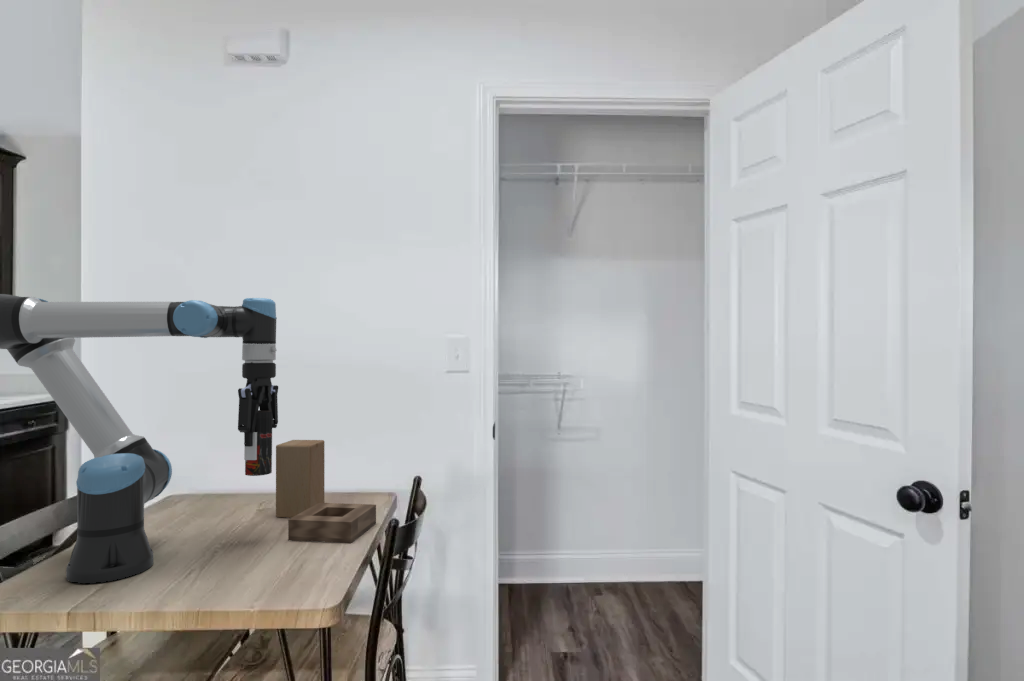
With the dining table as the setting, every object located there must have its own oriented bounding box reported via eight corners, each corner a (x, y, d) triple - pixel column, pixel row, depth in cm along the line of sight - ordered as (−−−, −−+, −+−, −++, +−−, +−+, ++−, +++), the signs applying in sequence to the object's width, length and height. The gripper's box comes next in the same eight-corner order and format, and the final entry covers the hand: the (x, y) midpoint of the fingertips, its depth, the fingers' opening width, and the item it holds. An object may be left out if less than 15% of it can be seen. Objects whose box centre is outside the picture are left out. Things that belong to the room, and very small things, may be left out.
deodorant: (276, 472, 144) (277, 410, 144) (254, 476, 139) (255, 413, 139) (261, 469, 147) (262, 409, 147) (239, 474, 142) (240, 411, 142)
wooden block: (325, 508, 171) (325, 439, 171) (310, 518, 161) (309, 445, 161) (292, 508, 172) (292, 439, 172) (275, 517, 162) (275, 445, 162)
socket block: (288, 540, 142) (288, 519, 143) (319, 521, 158) (319, 502, 158) (351, 543, 140) (351, 522, 140) (376, 523, 156) (376, 504, 156)
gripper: (250, 362, 133) (250, 465, 133) (293, 361, 152) (292, 451, 152) (220, 362, 134) (219, 464, 134) (266, 361, 153) (265, 450, 153)
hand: (258, 457), depth 143 cm, fingers closed on deodorant, 6 cm apart
